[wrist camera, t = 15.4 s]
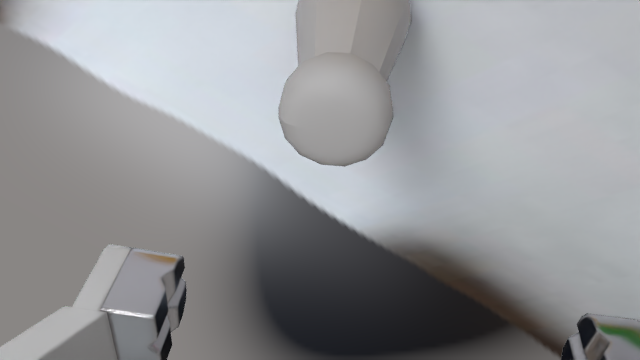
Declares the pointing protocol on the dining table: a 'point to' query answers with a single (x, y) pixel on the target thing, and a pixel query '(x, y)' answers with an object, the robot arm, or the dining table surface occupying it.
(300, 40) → the salt shaker
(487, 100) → the dining table surface
